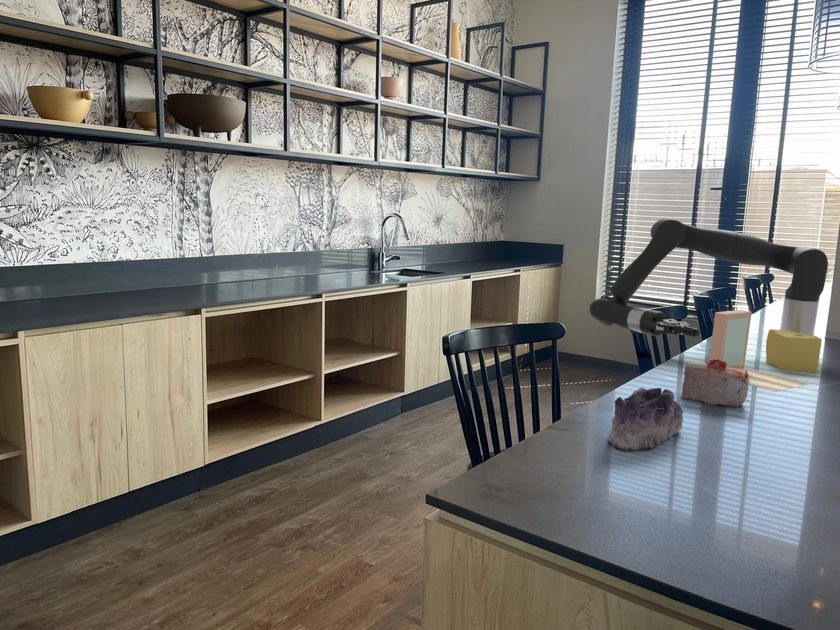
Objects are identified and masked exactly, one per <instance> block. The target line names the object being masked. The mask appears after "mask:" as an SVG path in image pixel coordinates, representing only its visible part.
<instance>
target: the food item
mask: <svg viewBox="0 0 840 630" xmlns="http://www.w3.org/2000/svg"><path fill="white" fill-rule="evenodd" d="M726 366H727V363H726V362H724V361H723V362H722V361H720V360H717V359H716V360H714V359H712V360H710V363H709V362H708V363H706V362H697V361H692V360H691V361H688V362H686V363H685V366H684V370H683V371H684V373H683V382H682V388H681V397H680V398H681V399H682V400H691V401H695V402H702V401H703V403H705V404H706V405H709V404H710V405H711V406H712V405H716V406H717V405H719V406H720V405H721V406H725V407H730V406H731V408H738V407H740V406H742V405H744V403H746V400H747V397H748V391H749V385H750V384H749V376H748V372H747V370H741V369H736V368H729V367H726ZM710 405H709V406H710Z"/></svg>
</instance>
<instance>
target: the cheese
mask: <svg viewBox="0 0 840 630" xmlns="http://www.w3.org/2000/svg"><path fill="white" fill-rule="evenodd" d="M821 348H822V338H820V337H818V336H816V335H815V334H814V335H811V334H802V333H796V332H792V331H784V330H780V329H768V333H767V337H766V341H765V356H766V357H765V359H766V360H765V362H766V363H768V364H771V365H773V366H775V367H776V368H778V369H780V370H787V371H788V370H789V371H790V370H791V371H804V372H808V373H817V370H818V367H819V360H820V355H821V350H822V349H821Z"/></svg>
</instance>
